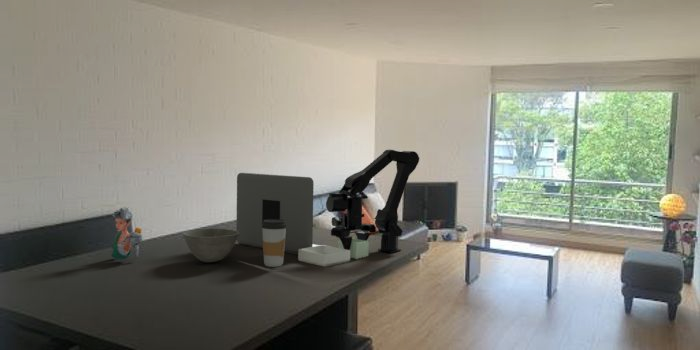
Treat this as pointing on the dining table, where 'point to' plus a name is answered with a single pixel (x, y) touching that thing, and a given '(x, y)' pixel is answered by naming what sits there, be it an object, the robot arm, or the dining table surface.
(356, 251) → the small crate
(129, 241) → the character figurine
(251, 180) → the laptop
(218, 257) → the bowl
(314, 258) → the big crate
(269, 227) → the coffee cup
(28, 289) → the dining table surface
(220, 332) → the dining table surface
